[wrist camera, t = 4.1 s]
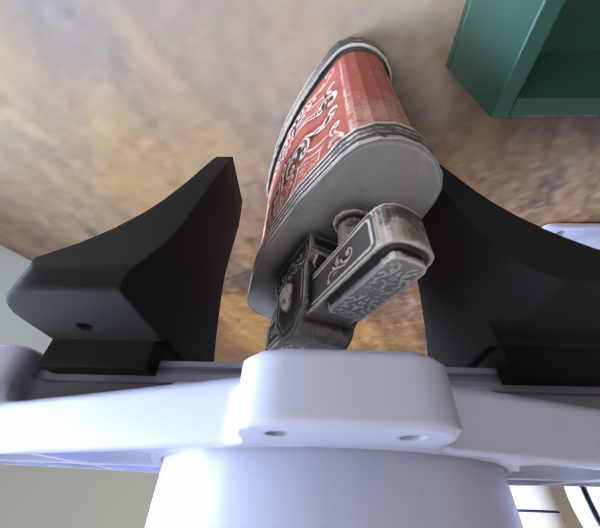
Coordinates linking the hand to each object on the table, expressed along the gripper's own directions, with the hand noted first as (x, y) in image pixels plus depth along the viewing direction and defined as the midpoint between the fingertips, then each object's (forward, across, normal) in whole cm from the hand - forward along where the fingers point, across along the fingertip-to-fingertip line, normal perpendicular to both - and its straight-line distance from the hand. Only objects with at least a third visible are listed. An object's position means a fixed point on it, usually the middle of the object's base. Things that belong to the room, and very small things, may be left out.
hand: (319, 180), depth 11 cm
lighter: (+4, 0, 0) cm, 4 cm away
